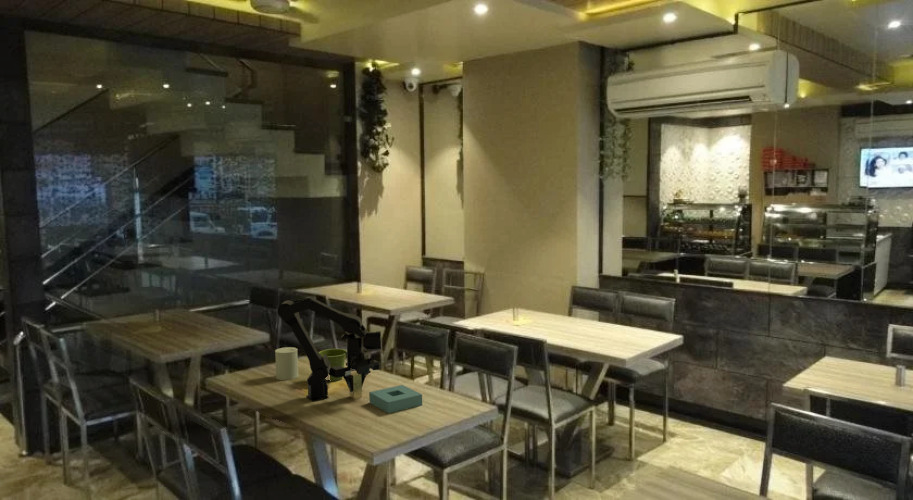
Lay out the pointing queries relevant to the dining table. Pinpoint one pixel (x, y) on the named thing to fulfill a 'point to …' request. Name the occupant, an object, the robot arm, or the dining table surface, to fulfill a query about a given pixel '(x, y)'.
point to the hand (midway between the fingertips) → (355, 390)
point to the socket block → (395, 398)
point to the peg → (356, 386)
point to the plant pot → (335, 359)
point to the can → (286, 363)
